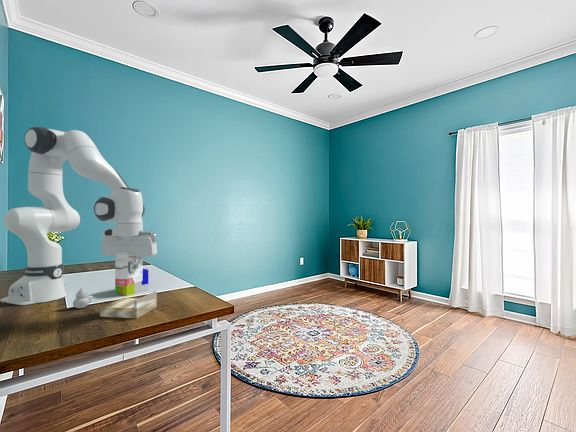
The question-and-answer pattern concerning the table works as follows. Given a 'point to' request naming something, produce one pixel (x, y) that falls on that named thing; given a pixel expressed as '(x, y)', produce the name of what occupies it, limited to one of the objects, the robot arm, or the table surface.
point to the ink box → (127, 269)
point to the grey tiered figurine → (82, 299)
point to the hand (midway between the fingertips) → (129, 268)
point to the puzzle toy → (134, 286)
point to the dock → (130, 307)
